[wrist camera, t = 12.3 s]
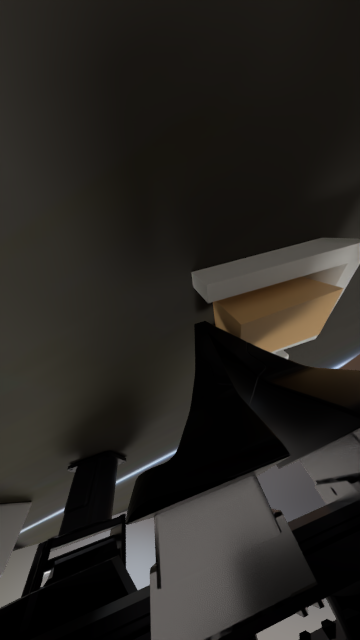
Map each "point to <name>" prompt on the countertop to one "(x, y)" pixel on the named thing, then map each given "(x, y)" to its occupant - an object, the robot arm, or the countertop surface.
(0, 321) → the countertop surface
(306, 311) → the tan rectangular block
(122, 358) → the countertop surface
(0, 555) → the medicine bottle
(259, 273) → the end holder
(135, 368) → the countertop surface
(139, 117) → the countertop surface
